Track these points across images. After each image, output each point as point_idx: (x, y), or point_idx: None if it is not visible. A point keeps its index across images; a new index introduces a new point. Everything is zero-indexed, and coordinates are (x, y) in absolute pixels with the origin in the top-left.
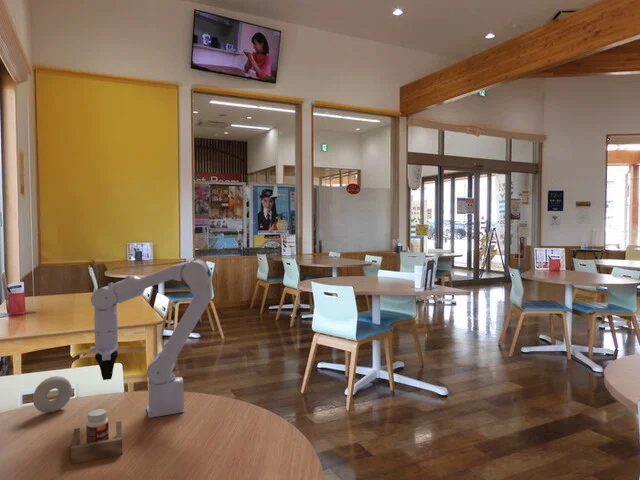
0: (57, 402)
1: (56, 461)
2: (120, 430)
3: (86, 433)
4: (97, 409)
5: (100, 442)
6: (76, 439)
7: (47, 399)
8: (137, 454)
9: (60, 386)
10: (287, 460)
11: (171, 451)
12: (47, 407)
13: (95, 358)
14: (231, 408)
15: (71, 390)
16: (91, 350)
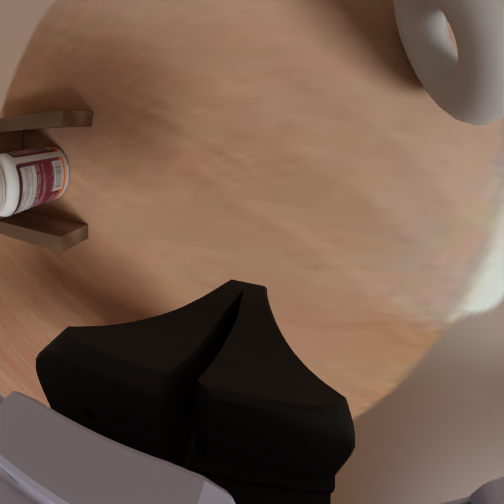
0: (424, 58)
1: (38, 84)
2: (19, 237)
3: (20, 150)
4: None
5: None
6: (14, 126)
7: (422, 14)
8: (13, 247)
9: (458, 52)
10: (3, 382)
11: (15, 300)
12: (398, 21)
13: (67, 336)
14: None
15: (465, 118)
16: (3, 405)
